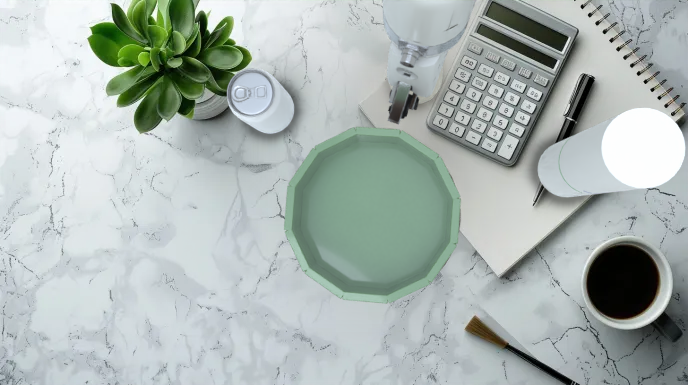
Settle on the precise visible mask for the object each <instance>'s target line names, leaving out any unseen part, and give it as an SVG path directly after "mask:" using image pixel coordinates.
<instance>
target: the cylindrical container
mask: <svg viewBox="0 0 688 385" xmlns="http://www.w3.org/2000/svg"><path fill="white" fill-rule="evenodd" d="M685 156H686V141H685V137H684V134H683V132H682V130H681V128H680V127H679V125H678V123H676V122H675V120H674V119H672V117H671V116H669V115H668V114H666V113H664V112H662V111H660V110H658V109H654V108H650V107H638V108H632V109H629V110H626V111H623V112H621V113H619V114H617V115H615V116H613V117H610V118H608V119H606V120H604V121H602V122H599V123H597V124H595V125H593V126H591V127H589V128H587V129H584V130H581V131H580V132H578V133H576V134H575V133H574V134H573V135H571V136H569V137H567V138H564V139H562V140H560V141H558V142H556V143H553V144H552V145H550V146H548V147H547V148H546V149H545V150H544V151H543V153H542V154H541V155H540V158H539V160H538V163H537V175H538V178H539V181H540V183H541V184H542V186H543V187H544V189H545V190H547V191H548V192H549V193H551V194H552V195H554V196H557V197H560V198H573V197H583V196H591V195H592V196H593V195H600V194H608V193H617V192H626V191H635V190H644V189H651V188H652V189H653V188H656V187H659V186H661V185H663V184H666V183H668V182H669V181H670V180H671V179H672V178H673V177H675V175H677V173H678V172H679V170H680V169H681V167H682V164H683V163H684V159H685Z"/></svg>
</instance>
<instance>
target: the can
mask: <svg viewBox="0 0 688 385" xmlns="http://www.w3.org/2000/svg"><path fill="white" fill-rule="evenodd" d="M226 97H227V98H226V100H227V105H228V107H229V109H230V110H231V112H232V114H234V116H236V117H237V118H238V119H239V120H241V121H242V122H244V123H245V124H247V125H248V126H250V127H252V128H253V129H255V130H257V131H258V132H261V133H263V134H269V135H270V134H271V135H272V134H277V133H279V132H281V131H284V130H285V129H286V128H287V127H288V126H289V125H290V124H291V122H292V121H293V119H294V115H295V104H294V101H293V98H292V96H291V94H290V93H289V92H288V90H286V89H285V87H284V86H283V85H282V84H281V83H280V82H279V80H277V78H276V77H275V76H274V75H273V74H271V73H270V72H268V71H267V70H264V69H262V68H255V67H254V68H246V69H242V70H240V71H238V72H237V73H235V74H234V75H233V76H232V78H231V79H230V81H229V82H228V85H227V88H226Z"/></svg>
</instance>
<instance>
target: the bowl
mask: <svg viewBox="0 0 688 385" xmlns="http://www.w3.org/2000/svg"><path fill="white" fill-rule="evenodd" d="M448 171H449V169H448V168H447V165H446V164H445V162H444V160H443V157H442V155H441V156H440V154H439V153H438V152H437V151H434V150H433V149H432V148H430V147H429V146H427V145H426V144H424V143H422V142H421V141H419V140H418V139H417V138H415V137H413V136H412V135H410V134H409V133H407V132H406V131H405V130H401V129H400V128H385V127H369V126H355V127H351V128H348V129H346V130H344V131H342V132H341V133H338V134H337V135H334V136H333V137H331V138H328V139H326V140H324V141H322V142H320V143H318V144H316V145H315V146H314V147H312V148H311V150H310V151H309V152H308V154H307V155H306V157H305V159H303V162H302V163H301V164H300V166H299V168H298V169H297V170H296V172H295V173H294V175H293V176H292V177H291V179H290V180H289V182H288V185H287V186H286V197H285V210H284V211H285V212H284V224H283V230H284V235H285V237H286V239H287V241H288V243H289V245H290V247H291V249H292V251H293V254H294V255H295V256H294V257H295V258H296V260H297V262H298V264H299V267H300V268H301V270H302V272H304V274H305V275H306V276H307V277H309V278H310V279H312V280H313V281H315V282H316V283H317V284H319V285H320V286H321V287H323V288H324V289H326V290H327V291H329V292H330V293H331V294H333V295H334V296H335V297H337V298H338V299H342V300H343V301H353V302H363V303H364V302H365V303H374V304H375V303H376V304H385V305H386V304H387V305H388V304H391V303H393V302H396V301H398V300H400V299H402V298H404V297H406V296H409V295H410V293H411V294H413V293H414V292H417V291H419V290H421V289H424V288H425V287H428V286H429V285H431V283H433V282H434V280H435V279H436V277H437V276H438V274H439V273H440V272H441V271H442V269H443V268H444V267H445V266H444V264H445V263H446V261H447V260H448V261H449V259H450V258H451V256H452V254H453V252H454V251H455V250H456V248H457V246H458V245H457V244H459V235H460V229H459V220H460V209H461V205H462V199H461V194H460V192H459V190H458V188H457V186H456V183H455V181H454V179H453V177H452V178H451V176H452V175H451V173H450V171H449V172H448ZM449 173H450V174H449ZM450 175H451V176H450ZM452 179H453V180H452ZM453 181H454V182H453ZM454 183H455V184H454ZM458 234H459V235H458ZM450 255H451V256H450ZM449 257H450V258H449ZM448 258H449V259H448ZM448 261H447V262H448ZM446 264H447V263H446ZM446 264H445V265H446ZM443 266H444V267H443ZM442 267H443V268H442ZM441 268H442V269H441ZM440 270H441V271H440ZM439 271H440V272H439Z"/></svg>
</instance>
